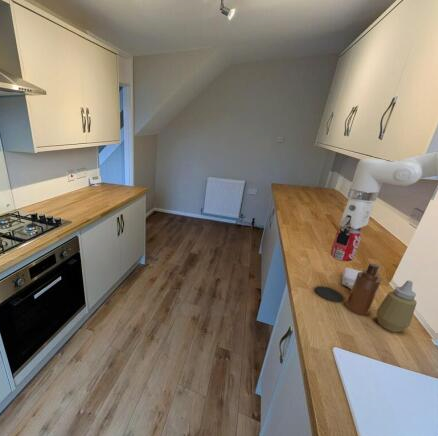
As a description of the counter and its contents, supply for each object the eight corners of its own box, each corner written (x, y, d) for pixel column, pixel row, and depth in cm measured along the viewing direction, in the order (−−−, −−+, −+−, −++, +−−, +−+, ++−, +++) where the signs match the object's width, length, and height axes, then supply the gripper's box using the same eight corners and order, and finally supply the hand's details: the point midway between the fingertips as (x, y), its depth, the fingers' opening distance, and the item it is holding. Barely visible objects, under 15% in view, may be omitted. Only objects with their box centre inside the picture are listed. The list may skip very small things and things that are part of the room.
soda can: (350, 256, 92) (360, 228, 87) (354, 265, 86) (365, 235, 82) (328, 252, 95) (337, 224, 91) (330, 259, 89) (339, 230, 85)
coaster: (346, 297, 95) (347, 296, 94) (335, 304, 90) (335, 303, 90) (322, 285, 102) (322, 284, 102) (310, 291, 98) (311, 290, 98)
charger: (340, 291, 98) (342, 275, 109) (369, 301, 92) (368, 283, 103) (343, 281, 96) (345, 266, 107) (373, 291, 91) (372, 274, 102)
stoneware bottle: (371, 311, 87) (390, 267, 81) (363, 317, 84) (382, 272, 78) (350, 300, 92) (366, 258, 86) (342, 306, 90) (358, 263, 83)
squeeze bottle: (395, 319, 83) (416, 276, 77) (412, 337, 76) (437, 291, 70) (367, 315, 85) (386, 272, 79) (381, 332, 78) (403, 286, 72)
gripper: (364, 201, 75) (346, 251, 81) (386, 195, 83) (369, 240, 89) (337, 195, 81) (322, 242, 87) (360, 190, 89) (346, 233, 95)
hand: (346, 241), depth 88 cm, fingers closed on soda can, 7 cm apart
